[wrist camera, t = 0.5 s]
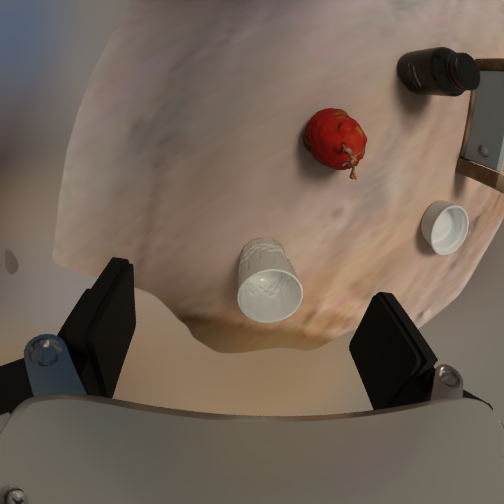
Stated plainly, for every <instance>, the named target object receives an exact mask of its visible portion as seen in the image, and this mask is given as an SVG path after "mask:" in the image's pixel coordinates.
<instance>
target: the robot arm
mask: <svg viewBox="0 0 504 504" xmlns="http://www.w3.org/2000/svg"><path fill="white" fill-rule="evenodd" d="M135 326H136V315H135V300H134V270H133V264H129V261H128V259H122V258H116V257H113V258H112V259H111V260H110V262H109V263H108V265H107V266H106V267H105V269H104V270H103V272H102V273H101V275H100V276H99V278H98V279H97V281H96V282H95V284H94V285H93V287H92V288H91V289H86V290H85V292H84V293H83V295H82V296H81V298H80V299H79V301H78V303H77V304H76V305H75V307H74V309H73V310H72V312H71V313H70V315H69V316H68V318H67V320H66V321H65V323H64V325H63V326H62V328H61V330H60V331H59V333H58V335H57V336H55V335H53V334H43V335H39V336H37V337H34V338H33V339H31V340H30V341H29V342H28V343H27V345H26V346H25V349H24V358H22V359H19V360H17V361H14V362H11V363H8V364H6V365H3V366H0V504H504V425H503V424H502V423H501V422H500V421H499V420H498V418H497V416H496V415H495V414H494V412H493V408H492V407H491V405H490V404H489V403H486V402H485V401H483V400H481V399H479V398H477V397H476V396H474V395H472V394H470V393H468V392H467V391H465V390H463V379H462V377H461V375H460V374H459V372H458V371H457V370H456V369H454V368H453V367H451V366H449V365H445V364H441V365H439V366H438V367H437V368H436V369H435V368H434V365H435V363H436V362H437V361H438V359H437V358H436V356H435V354H434V353H433V351H432V350H431V348H430V347H429V345H428V344H427V342H426V341H425V339H424V338H423V336H422V335H421V333H420V332H419V330H418V329H417V327H416V326H415V325H414V323H413V322H412V320H411V319H410V317H409V316H408V315H407V313H406V312H405V310H404V309H403V308H402V306H401V305H400V303H399V302H398V301H397V299H396V298H395V297H394V295H393V294H392V293H386V292H378V293H377V294H376V295H374V296H373V298H372V300H371V302H370V304H369V306H368V308H367V310H366V312H365V314H364V316H363V318H362V320H361V322H360V324H359V326H358V328H357V330H356V332H355V334H354V336H353V338H352V340H351V342H350V345H349V350H350V353H351V355H352V358H353V360H354V362H355V365H356V367H357V369H358V372H359V374H360V377H361V379H362V382H363V384H364V387H365V389H366V392H367V394H368V397H369V399H370V402H371V404H372V407H373V410H371V411H363V412H353V413H343V414H330V415H312V416H246V415H245V416H244V415H227V414H214V413H204V412H194V411H186V410H179V409H170V408H164V407H157V406H151V405H144V404H139V403H134V402H129V401H123V400H117V399H112V398H113V394H114V391H115V388H116V384H117V381H118V378H119V375H120V372H121V369H122V366H123V363H124V359H125V357H126V354H127V351H128V348H129V345H130V342H131V339H132V336H133V334H134V330H135Z"/></svg>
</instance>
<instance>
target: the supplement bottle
mask: <svg viewBox="0 0 504 504" xmlns="http://www.w3.org/2000/svg"><path fill="white" fill-rule="evenodd" d="M398 70H399V75H400V78H401V80H402V82H403V84H404V85H405V86H406V87H407V88H408V89H409V90H410V91H412V92H414V93H416V94H422V95H439V96H453V97H454V96H459V95H461V94H462V93H463V92H464V91H466V90H471V91H472V90H475V89H477V87H478V86H479V84H480V71H479V68H478V66H477V64H476V62H475V60H474V59H473V58H472V57H471V56H469V55H468V54H466V53H456V52H454V51H453V50H451V49H449V48H446V47H437V48H430V49H424V50H418V51H413V52H409V53H406V54H404V55H403V56H402V57H401V59H400V61H399V65H398Z"/></svg>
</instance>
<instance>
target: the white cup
mask: <svg viewBox="0 0 504 504" xmlns="http://www.w3.org/2000/svg"><path fill="white" fill-rule="evenodd" d="M302 299H303V288H302V285H301V283H300V281H299V279H298V277H297V274H296V272H295V270H294V268H293V266H292V264H291V262H290V260H289V258H288V256H287V255H286V253H285V252H284V250H283V248H282V246H281V245H280V244H279V243H277V242H276V241H274V240H273V239H267V238H259V239H256V240H253V241H251V242H250V243H248V244H247V245H246V246H245V247H244V248H243V250H242V253H241V255H240V264H239V273H238V293H237V301H238V305H239V308H240V310H241V311H242V312H243V313H244V314H245V315H246V316H247V317H248V318H250V319H252V320H254V321H257V322H263V323H272V322H278V321H281V320H283V319H286V318H287V317H289V316H291V315H292V314H293V313H294V312H295V311H296V310H297V309H298V308H299V306H300V304H301V302H302Z"/></svg>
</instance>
